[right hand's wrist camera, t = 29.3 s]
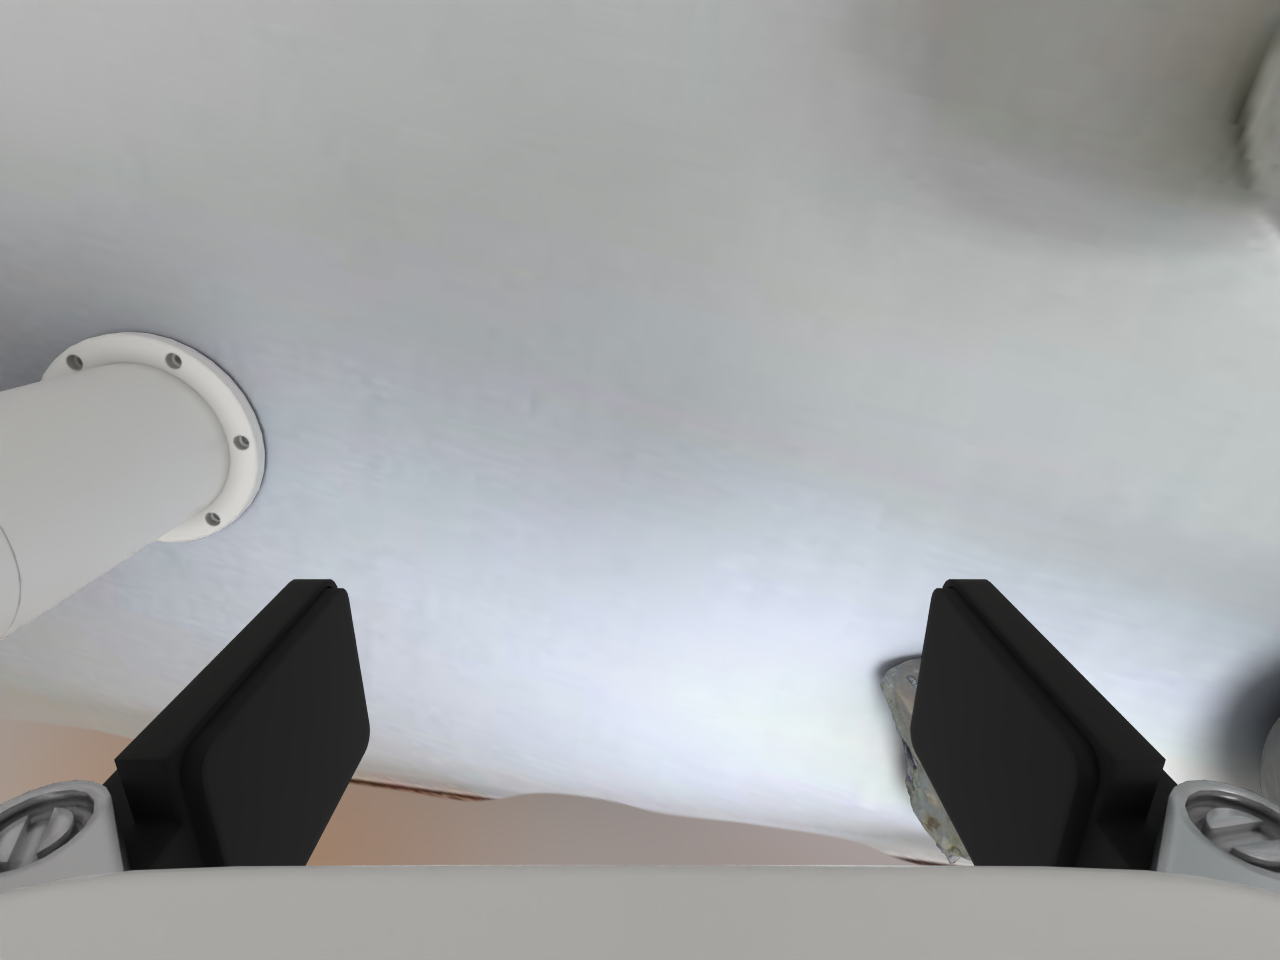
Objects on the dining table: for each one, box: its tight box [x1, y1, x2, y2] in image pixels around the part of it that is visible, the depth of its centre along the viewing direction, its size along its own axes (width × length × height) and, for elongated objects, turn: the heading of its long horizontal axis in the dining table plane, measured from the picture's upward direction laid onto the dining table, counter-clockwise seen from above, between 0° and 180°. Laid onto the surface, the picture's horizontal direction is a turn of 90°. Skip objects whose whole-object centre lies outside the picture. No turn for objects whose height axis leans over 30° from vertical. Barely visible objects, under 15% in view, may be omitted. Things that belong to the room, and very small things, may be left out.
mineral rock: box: [881, 658, 972, 864], centre depth 43 cm, size 13×11×10 cm
